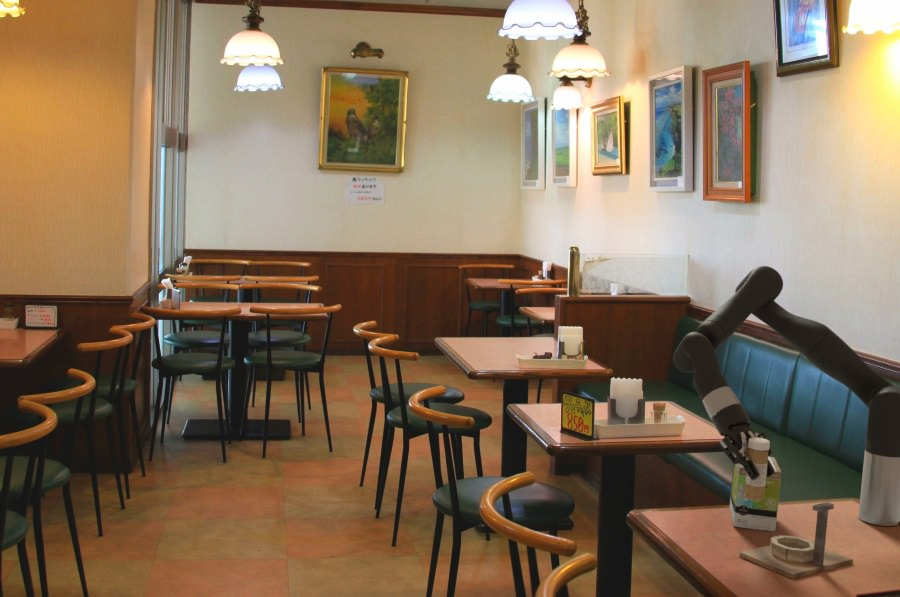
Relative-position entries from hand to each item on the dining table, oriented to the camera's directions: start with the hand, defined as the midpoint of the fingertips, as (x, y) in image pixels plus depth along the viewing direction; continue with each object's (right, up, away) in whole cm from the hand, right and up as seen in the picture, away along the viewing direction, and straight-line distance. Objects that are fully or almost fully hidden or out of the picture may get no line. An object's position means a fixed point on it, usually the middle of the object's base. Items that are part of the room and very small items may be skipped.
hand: (763, 476), depth 222 cm
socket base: (+6, -17, -4) cm, 19 cm away
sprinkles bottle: (-1, -6, +2) cm, 6 cm away
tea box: (+4, -15, +22) cm, 27 cm away
